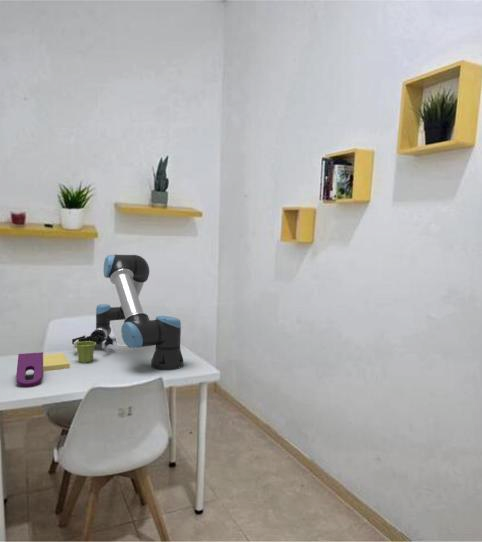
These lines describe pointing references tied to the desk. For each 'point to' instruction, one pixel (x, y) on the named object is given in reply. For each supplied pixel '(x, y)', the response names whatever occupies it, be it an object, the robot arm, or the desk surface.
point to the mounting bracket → (29, 368)
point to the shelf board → (55, 362)
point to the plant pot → (85, 351)
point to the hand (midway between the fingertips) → (88, 345)
